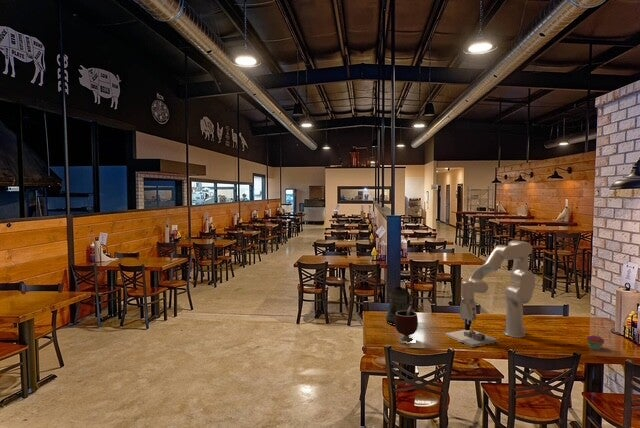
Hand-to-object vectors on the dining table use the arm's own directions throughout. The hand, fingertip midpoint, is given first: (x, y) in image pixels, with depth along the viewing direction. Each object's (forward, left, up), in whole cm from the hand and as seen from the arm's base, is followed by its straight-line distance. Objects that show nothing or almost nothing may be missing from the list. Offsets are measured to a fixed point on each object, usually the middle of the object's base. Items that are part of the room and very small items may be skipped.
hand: (467, 329), depth 251 cm
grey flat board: (0, +2, -5) cm, 6 cm away
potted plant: (+19, -47, -6) cm, 51 cm away
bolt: (0, +5, -3) cm, 6 cm away
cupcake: (-52, +45, -6) cm, 69 cm away
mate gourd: (+36, -14, -6) cm, 39 cm away
